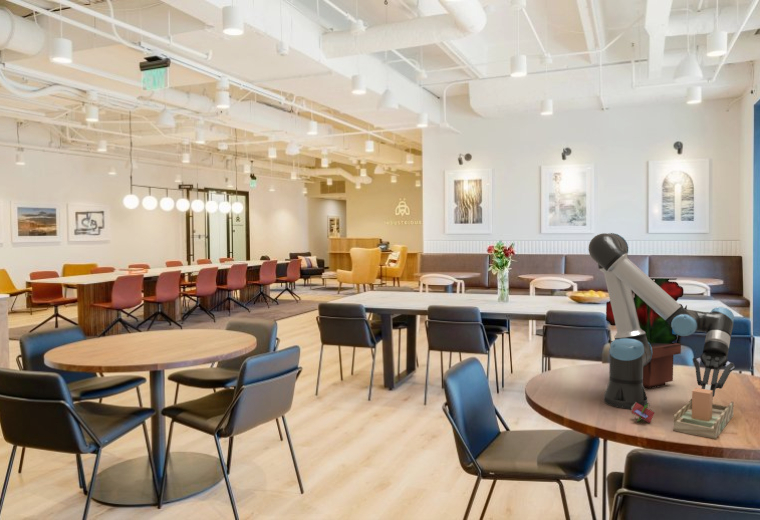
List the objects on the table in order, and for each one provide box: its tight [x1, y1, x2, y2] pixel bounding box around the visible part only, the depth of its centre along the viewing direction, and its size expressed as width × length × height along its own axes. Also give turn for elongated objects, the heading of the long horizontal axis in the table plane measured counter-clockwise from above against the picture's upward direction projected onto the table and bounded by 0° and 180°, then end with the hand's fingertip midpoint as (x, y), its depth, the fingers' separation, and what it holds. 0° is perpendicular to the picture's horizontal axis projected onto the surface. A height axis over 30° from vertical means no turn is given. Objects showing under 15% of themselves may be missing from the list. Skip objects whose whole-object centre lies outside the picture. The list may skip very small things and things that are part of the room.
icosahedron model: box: [630, 402, 655, 424], centre depth 196 cm, size 7×7×8 cm
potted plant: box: [605, 277, 688, 390], centre depth 245 cm, size 22×22×45 cm
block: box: [691, 387, 714, 421], centre depth 191 cm, size 5×5×9 cm
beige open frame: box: [672, 398, 734, 440], centre depth 195 cm, size 30×12×5 cm, turn 140°
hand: (705, 403), depth 194 cm, fingers closed
